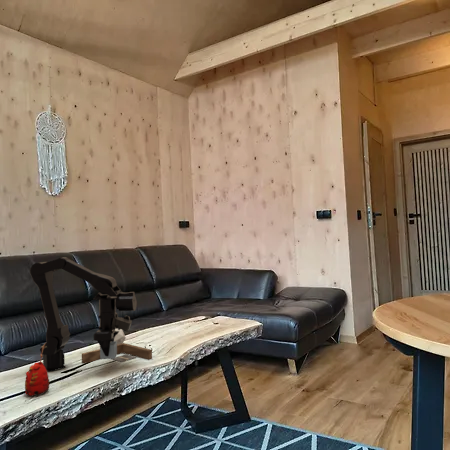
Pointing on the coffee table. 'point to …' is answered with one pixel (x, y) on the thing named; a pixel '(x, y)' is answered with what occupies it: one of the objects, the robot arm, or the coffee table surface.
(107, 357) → the cube
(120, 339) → the die
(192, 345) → the coffee table surface
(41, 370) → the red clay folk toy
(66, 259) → the robot arm
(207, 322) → the coffee table surface
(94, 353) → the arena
